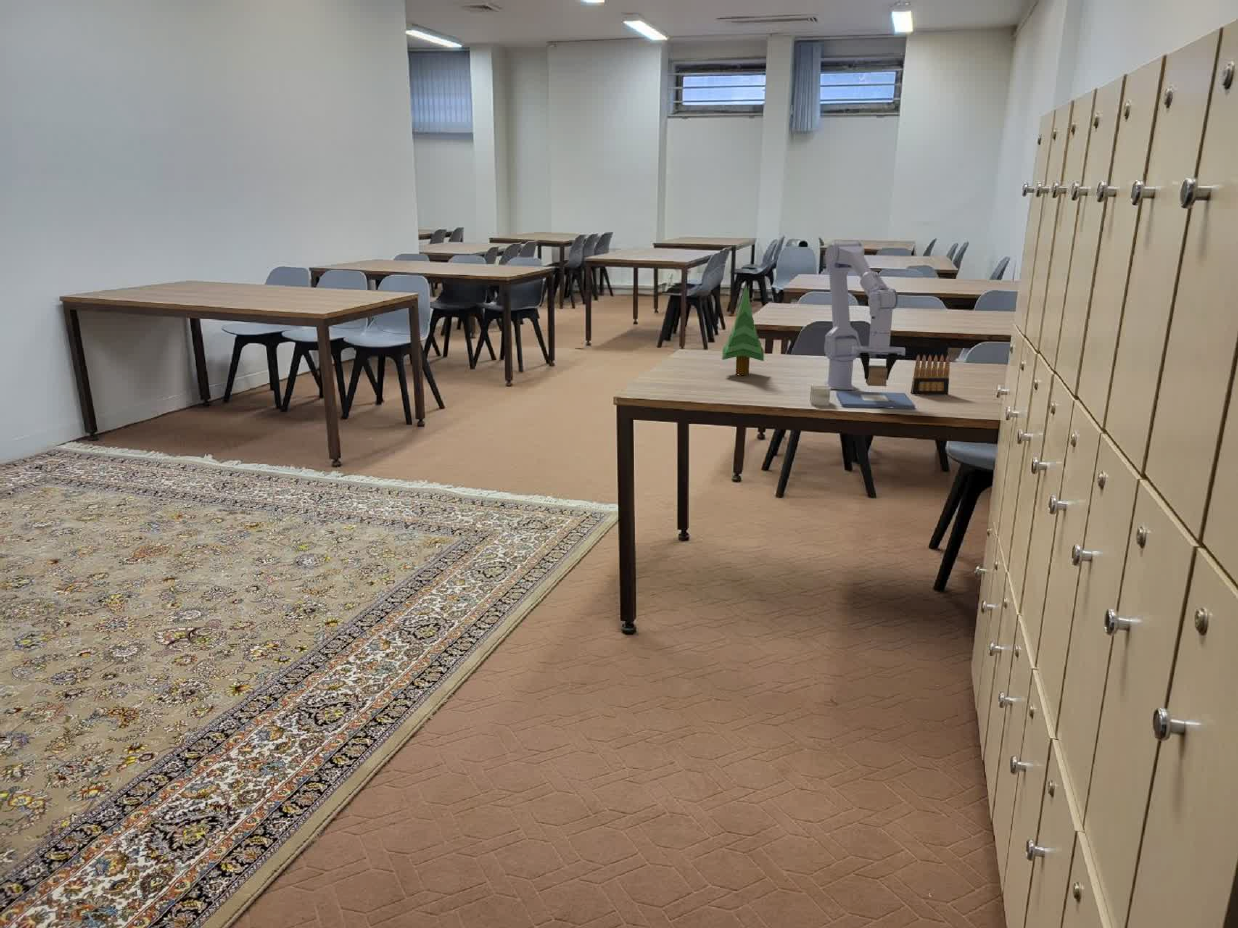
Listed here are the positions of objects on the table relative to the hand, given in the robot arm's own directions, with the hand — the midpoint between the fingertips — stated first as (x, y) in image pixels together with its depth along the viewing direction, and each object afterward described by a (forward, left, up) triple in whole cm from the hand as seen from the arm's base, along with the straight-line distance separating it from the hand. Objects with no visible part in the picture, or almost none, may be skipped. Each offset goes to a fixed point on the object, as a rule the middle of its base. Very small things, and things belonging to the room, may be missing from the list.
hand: (876, 379), depth 254 cm
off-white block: (+4, -16, -7) cm, 18 cm away
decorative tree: (-34, -38, -7) cm, 51 cm away
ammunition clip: (-12, +18, -7) cm, 23 cm away
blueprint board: (0, 0, -7) cm, 7 cm away
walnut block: (0, 0, -2) cm, 2 cm away
